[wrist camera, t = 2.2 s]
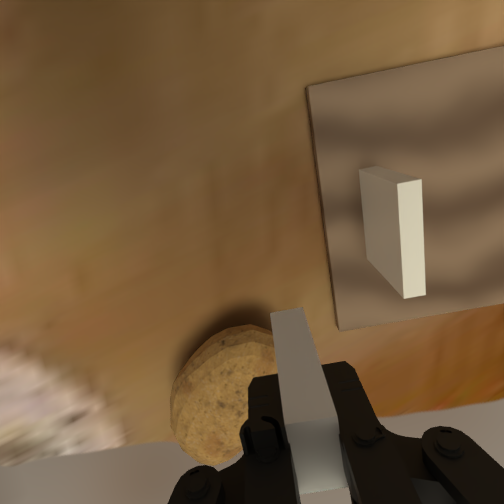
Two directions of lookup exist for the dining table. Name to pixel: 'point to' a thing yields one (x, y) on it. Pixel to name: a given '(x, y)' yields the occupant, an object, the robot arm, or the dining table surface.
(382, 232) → the tile
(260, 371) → the potato
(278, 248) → the dining table surface
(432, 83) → the board
